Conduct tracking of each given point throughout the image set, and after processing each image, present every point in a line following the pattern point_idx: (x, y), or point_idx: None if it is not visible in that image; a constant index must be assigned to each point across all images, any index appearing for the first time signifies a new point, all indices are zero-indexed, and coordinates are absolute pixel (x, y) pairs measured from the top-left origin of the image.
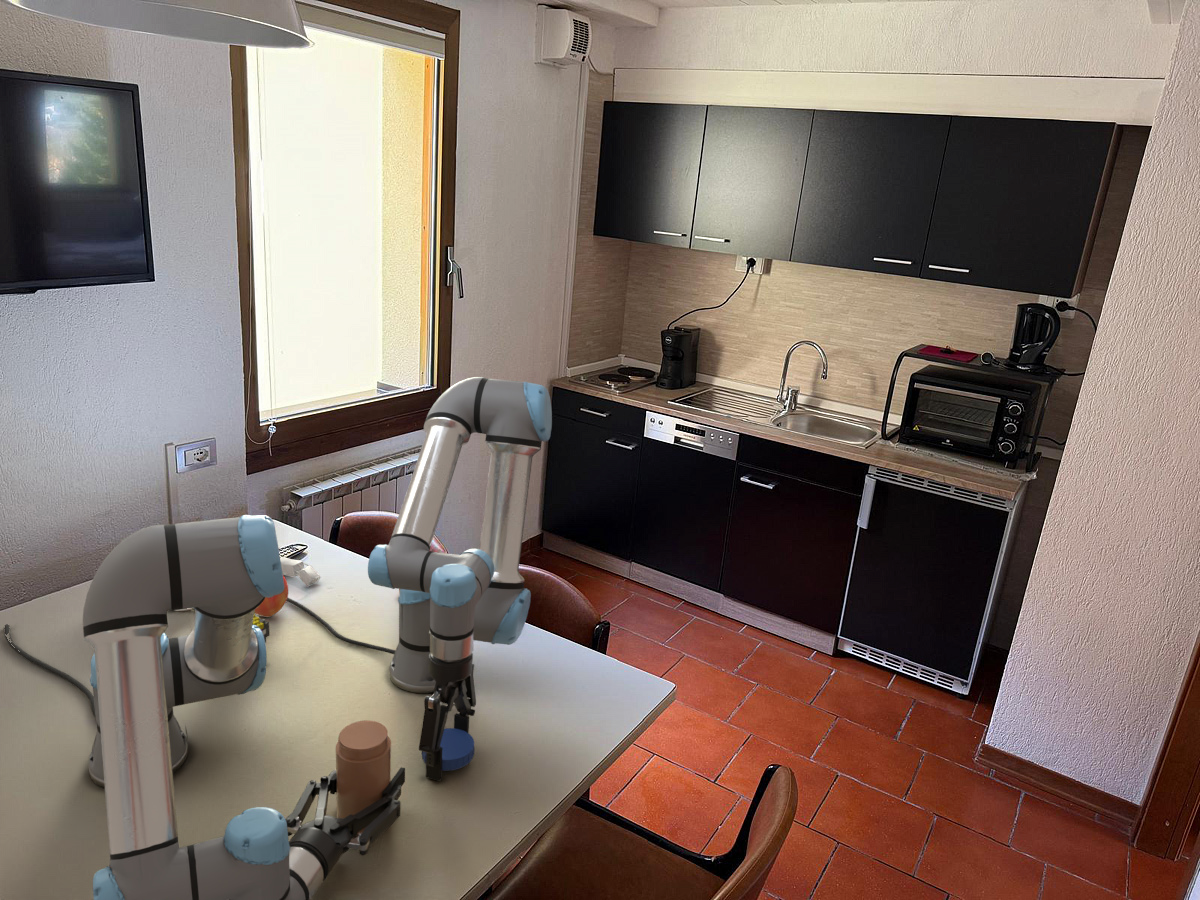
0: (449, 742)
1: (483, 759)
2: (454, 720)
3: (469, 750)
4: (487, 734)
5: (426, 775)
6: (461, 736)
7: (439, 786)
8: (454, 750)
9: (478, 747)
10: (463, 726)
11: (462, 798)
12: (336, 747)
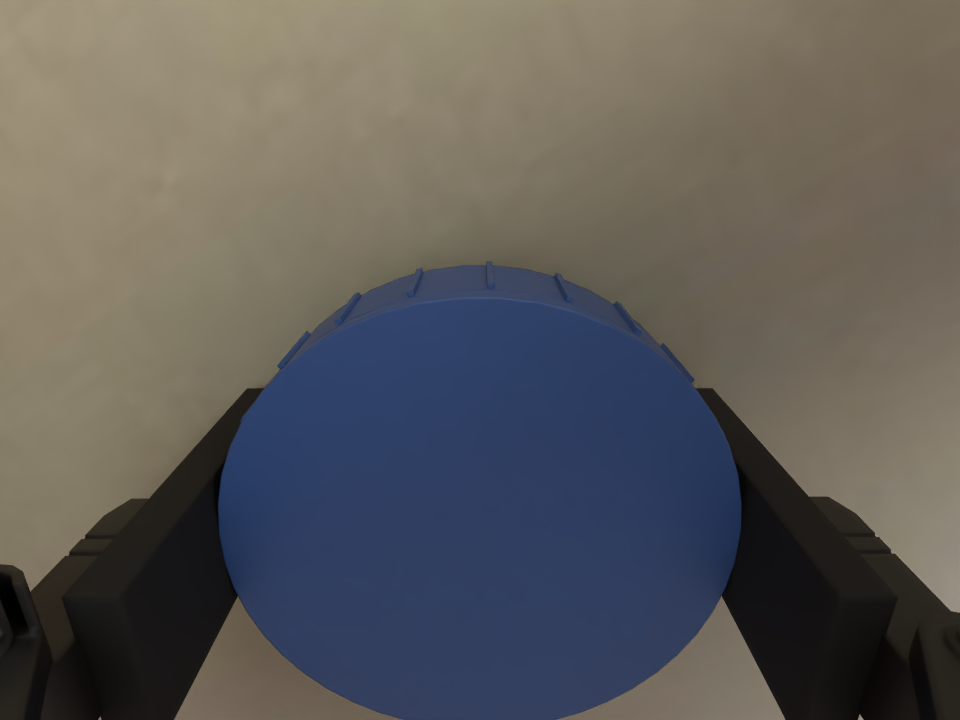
0: (499, 548)
1: None
2: (795, 545)
3: (473, 718)
4: (892, 523)
5: (243, 398)
6: (631, 598)
7: None
8: (410, 632)
9: None
10: (753, 607)
11: (238, 637)
12: None
